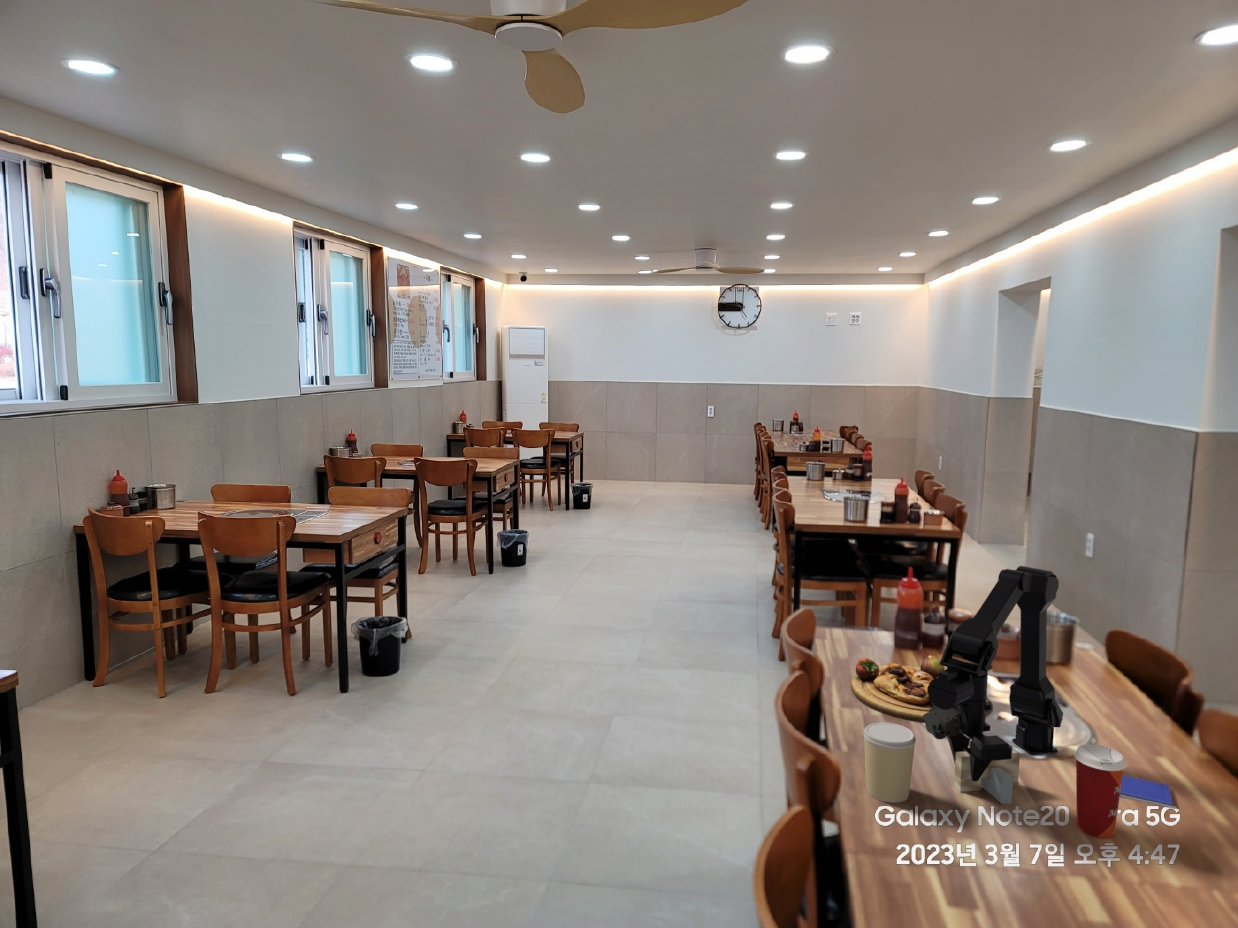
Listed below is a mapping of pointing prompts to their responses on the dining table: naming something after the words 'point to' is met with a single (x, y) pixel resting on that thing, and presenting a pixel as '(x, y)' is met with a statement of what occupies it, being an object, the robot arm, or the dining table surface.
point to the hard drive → (1146, 791)
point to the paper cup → (1098, 789)
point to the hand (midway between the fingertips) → (966, 773)
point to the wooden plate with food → (896, 687)
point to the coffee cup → (888, 761)
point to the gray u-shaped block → (999, 785)
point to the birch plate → (964, 771)
